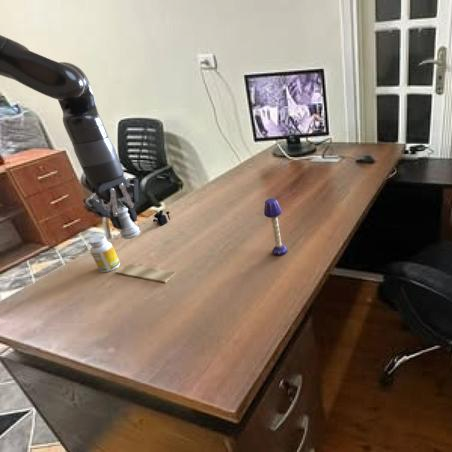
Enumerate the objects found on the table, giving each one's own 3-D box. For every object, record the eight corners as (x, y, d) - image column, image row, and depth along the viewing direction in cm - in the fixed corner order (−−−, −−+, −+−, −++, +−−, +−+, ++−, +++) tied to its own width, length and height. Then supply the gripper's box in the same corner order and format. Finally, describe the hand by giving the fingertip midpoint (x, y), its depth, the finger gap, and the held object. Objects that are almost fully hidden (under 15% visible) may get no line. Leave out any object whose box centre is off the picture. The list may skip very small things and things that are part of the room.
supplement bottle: (99, 275, 98) (84, 246, 94) (101, 265, 103) (86, 237, 98) (120, 268, 100) (106, 240, 95) (121, 259, 104) (108, 232, 100)
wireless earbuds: (157, 229, 120) (152, 216, 117) (152, 228, 121) (147, 215, 118) (173, 219, 125) (168, 207, 123) (168, 219, 126) (163, 206, 124)
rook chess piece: (128, 241, 87) (116, 212, 83) (118, 237, 89) (105, 209, 85) (144, 232, 90) (133, 204, 86) (134, 229, 92) (122, 202, 88)
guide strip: (115, 273, 98) (115, 271, 98) (127, 265, 101) (126, 263, 101) (165, 283, 92) (164, 281, 92) (176, 274, 95) (175, 272, 95)
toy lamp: (291, 250, 101) (282, 197, 93) (281, 258, 98) (271, 205, 89) (279, 246, 103) (269, 195, 95) (268, 254, 100) (257, 202, 92)
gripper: (113, 149, 86) (138, 211, 95) (57, 169, 75) (91, 237, 83) (135, 149, 84) (159, 213, 92) (81, 170, 72) (114, 241, 81)
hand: (126, 224), depth 88 cm, fingers closed on rook chess piece, 3 cm apart
